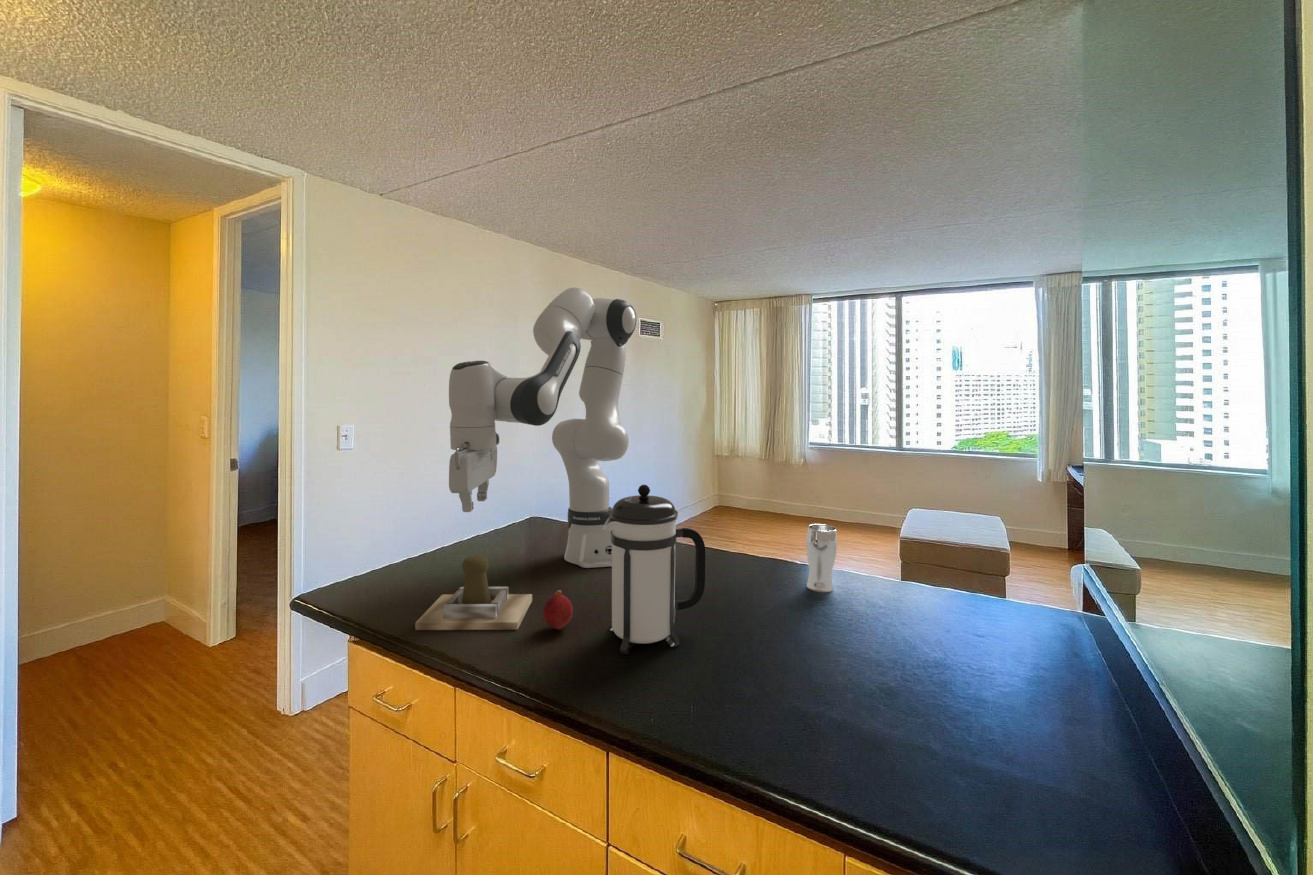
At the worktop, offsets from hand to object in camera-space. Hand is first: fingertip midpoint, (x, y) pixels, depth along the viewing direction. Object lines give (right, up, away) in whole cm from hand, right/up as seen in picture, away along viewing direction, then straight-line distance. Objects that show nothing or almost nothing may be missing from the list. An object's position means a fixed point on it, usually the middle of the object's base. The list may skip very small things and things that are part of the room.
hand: (475, 505), depth 108 cm
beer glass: (+78, -23, +18) cm, 83 cm away
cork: (0, -22, +1) cm, 22 cm away
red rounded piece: (+18, -24, -5) cm, 31 cm away
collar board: (0, -23, +1) cm, 23 cm away
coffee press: (+36, -25, -7) cm, 45 cm away
